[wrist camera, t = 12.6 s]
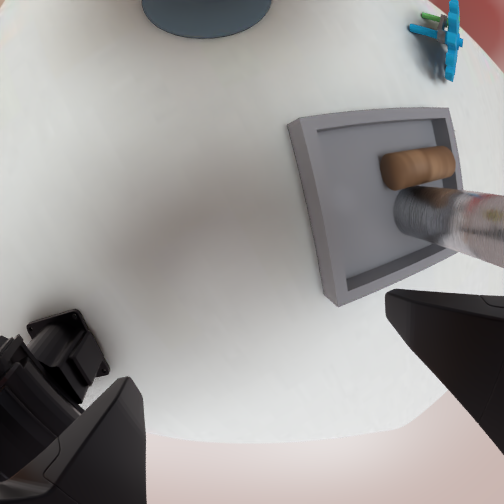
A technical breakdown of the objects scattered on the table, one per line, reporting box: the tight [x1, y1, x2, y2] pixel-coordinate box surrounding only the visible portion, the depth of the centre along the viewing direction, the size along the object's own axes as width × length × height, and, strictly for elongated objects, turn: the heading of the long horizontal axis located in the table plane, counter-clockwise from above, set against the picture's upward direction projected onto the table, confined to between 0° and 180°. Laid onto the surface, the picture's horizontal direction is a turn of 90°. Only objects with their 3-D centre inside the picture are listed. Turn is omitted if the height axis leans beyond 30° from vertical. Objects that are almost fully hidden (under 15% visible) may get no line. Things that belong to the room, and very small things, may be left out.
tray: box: [287, 107, 463, 307], centre depth 21 cm, size 16×14×3 cm
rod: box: [380, 146, 456, 191], centre depth 20 cm, size 7×3×3 cm
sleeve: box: [393, 186, 504, 268], centre depth 16 cm, size 5×5×13 cm
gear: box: [410, 0, 463, 82], centre depth 17 cm, size 11×6×10 cm
